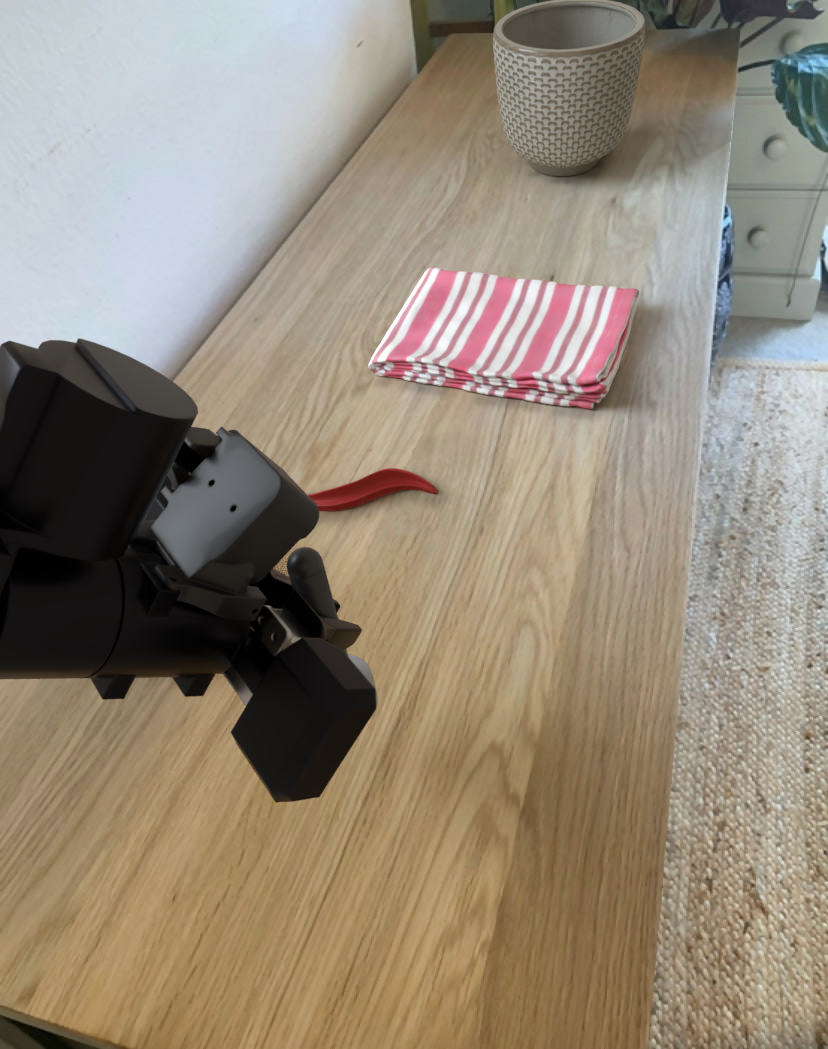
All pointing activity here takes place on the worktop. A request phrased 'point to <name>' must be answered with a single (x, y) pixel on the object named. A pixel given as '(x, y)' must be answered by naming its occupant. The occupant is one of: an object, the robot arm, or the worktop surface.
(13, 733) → the worktop surface
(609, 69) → the planter
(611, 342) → the dish towel
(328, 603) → the joystick
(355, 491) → the cayenne pepper
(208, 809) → the worktop surface
